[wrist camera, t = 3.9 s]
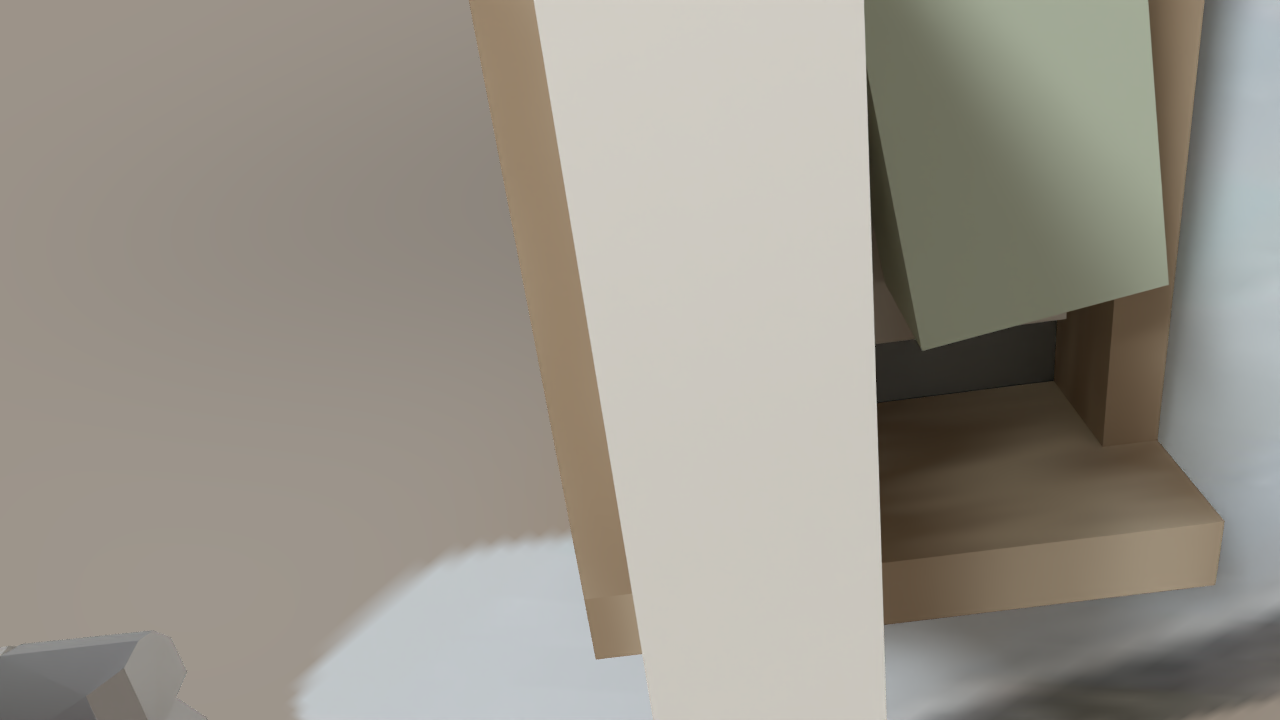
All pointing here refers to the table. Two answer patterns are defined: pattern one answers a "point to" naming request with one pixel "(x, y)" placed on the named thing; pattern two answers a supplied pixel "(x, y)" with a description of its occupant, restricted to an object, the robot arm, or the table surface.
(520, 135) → the rack
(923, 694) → the table surface
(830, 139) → the off-white rectangular board
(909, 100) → the offcut top
